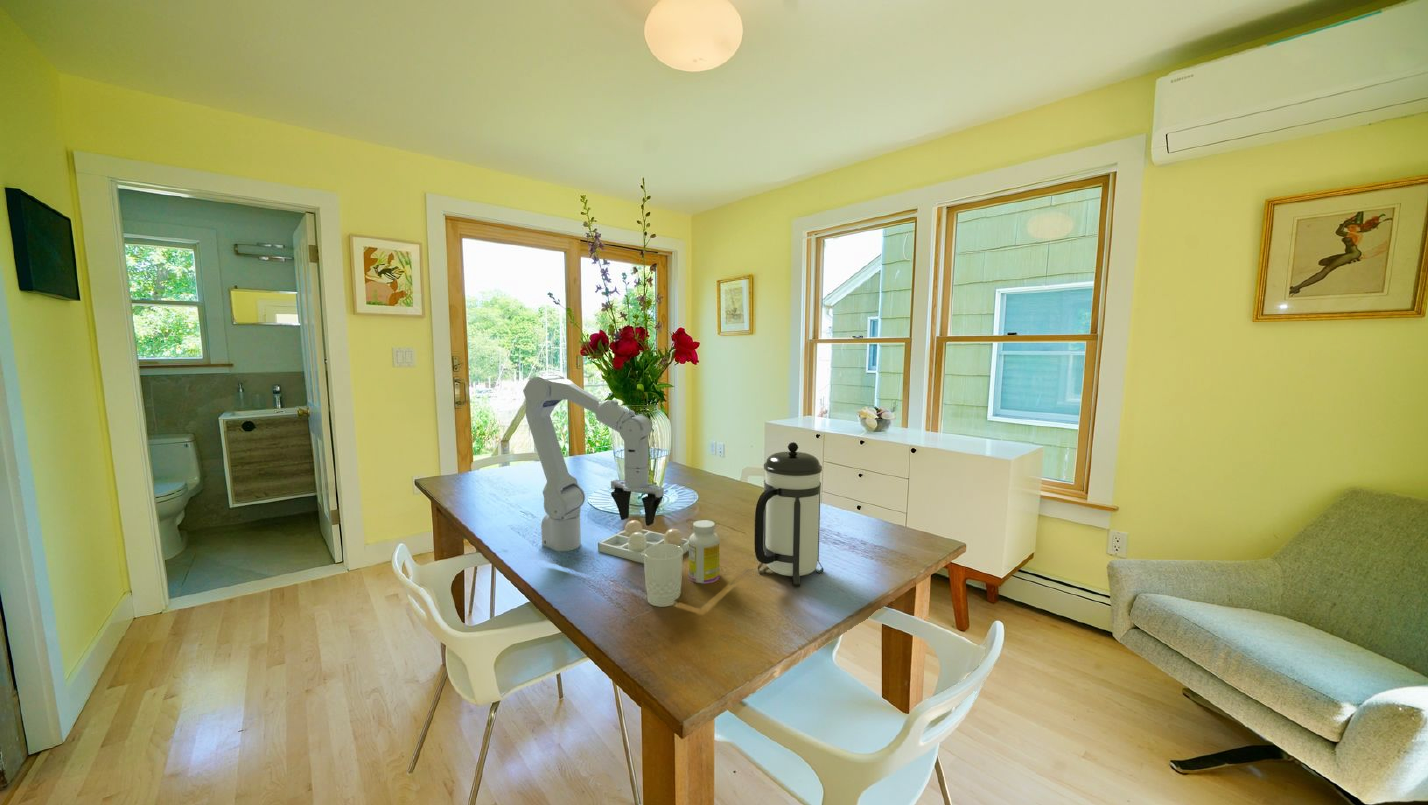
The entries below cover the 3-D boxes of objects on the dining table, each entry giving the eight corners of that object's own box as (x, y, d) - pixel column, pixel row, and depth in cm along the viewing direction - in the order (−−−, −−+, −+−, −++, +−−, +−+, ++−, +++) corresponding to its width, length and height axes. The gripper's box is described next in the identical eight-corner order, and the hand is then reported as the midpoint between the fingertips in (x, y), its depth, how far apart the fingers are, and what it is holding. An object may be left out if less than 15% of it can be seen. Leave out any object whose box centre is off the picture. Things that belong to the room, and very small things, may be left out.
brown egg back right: (660, 551, 119) (660, 530, 118) (670, 545, 123) (670, 524, 122) (675, 555, 117) (675, 533, 116) (685, 549, 121) (685, 528, 120)
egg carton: (598, 554, 119) (597, 542, 119) (631, 537, 131) (631, 526, 130) (661, 572, 110) (661, 559, 110) (692, 552, 121) (692, 540, 121)
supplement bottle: (723, 576, 108) (723, 520, 107) (713, 589, 102) (713, 530, 101) (695, 571, 110) (695, 517, 109) (684, 584, 104) (684, 526, 103)
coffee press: (752, 557, 118) (753, 436, 115) (818, 559, 117) (821, 437, 114) (753, 592, 101) (755, 450, 98) (831, 594, 100) (835, 451, 97)
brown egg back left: (621, 541, 125) (621, 521, 124) (632, 536, 129) (632, 516, 128) (635, 545, 123) (634, 524, 122) (645, 539, 127) (645, 519, 126)
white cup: (677, 610, 93) (676, 561, 92) (638, 606, 95) (637, 557, 94) (687, 591, 101) (687, 545, 100) (651, 587, 103) (651, 542, 102)
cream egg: (624, 555, 117) (624, 533, 116) (636, 549, 120) (635, 527, 120) (638, 559, 114) (638, 537, 114) (650, 552, 118) (650, 531, 118)
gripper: (601, 465, 115) (602, 521, 117) (650, 473, 108) (651, 532, 110) (621, 460, 121) (622, 512, 123) (668, 467, 114) (669, 523, 116)
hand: (637, 521), depth 117 cm, fingers open, 7 cm apart
